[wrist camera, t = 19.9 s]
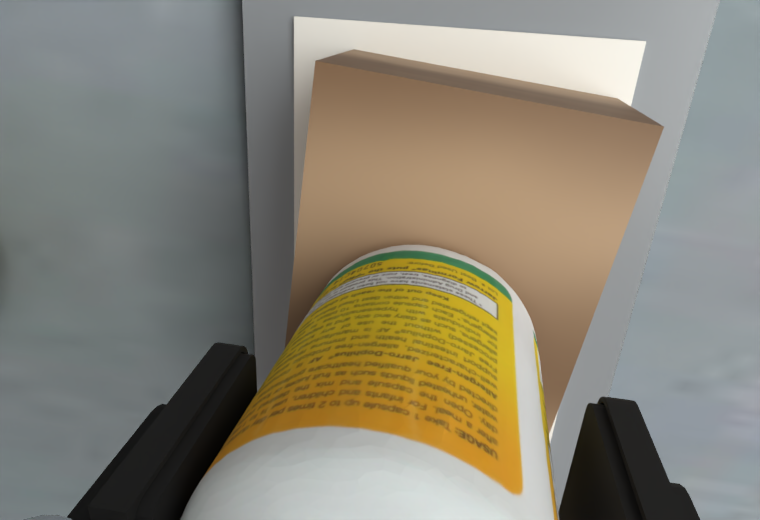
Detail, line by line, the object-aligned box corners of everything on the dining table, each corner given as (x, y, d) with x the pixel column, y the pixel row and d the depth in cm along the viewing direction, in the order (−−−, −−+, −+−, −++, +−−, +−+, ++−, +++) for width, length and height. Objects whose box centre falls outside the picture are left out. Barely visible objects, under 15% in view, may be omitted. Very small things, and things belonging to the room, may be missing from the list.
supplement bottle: (576, 384, 13) (729, 1070, 5) (387, 455, 15) (249, 1036, 7) (462, 192, 12) (381, 657, 3) (271, 297, 14) (-93, 764, 5)
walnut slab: (354, 49, 15) (315, 60, 11) (617, 98, 15) (664, 126, 11) (306, 402, 20) (269, 487, 16) (501, 448, 20) (507, 546, 16)
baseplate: (252, -89, 15) (235, -97, 14) (722, -66, 14) (743, -72, 13) (267, 453, 23) (257, 474, 22) (568, 502, 22) (573, 528, 21)
